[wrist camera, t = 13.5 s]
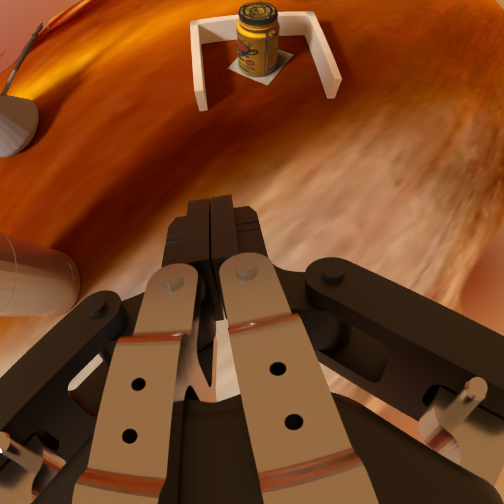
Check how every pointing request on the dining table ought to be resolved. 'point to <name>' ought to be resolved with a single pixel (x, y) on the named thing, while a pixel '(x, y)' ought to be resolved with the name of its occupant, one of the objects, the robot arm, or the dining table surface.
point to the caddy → (289, 26)
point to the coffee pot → (17, 113)
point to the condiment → (259, 43)
